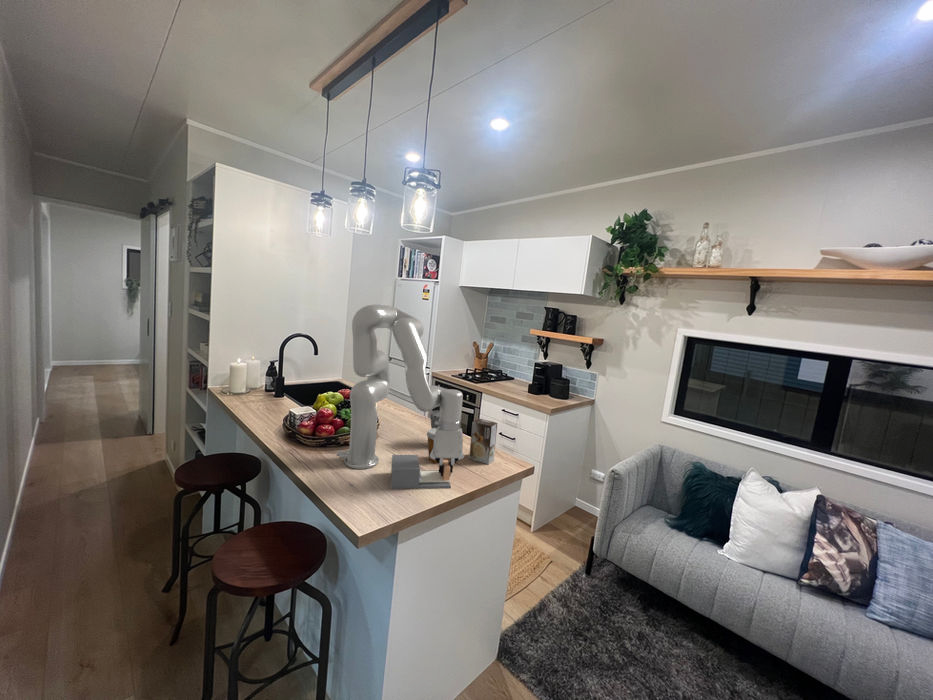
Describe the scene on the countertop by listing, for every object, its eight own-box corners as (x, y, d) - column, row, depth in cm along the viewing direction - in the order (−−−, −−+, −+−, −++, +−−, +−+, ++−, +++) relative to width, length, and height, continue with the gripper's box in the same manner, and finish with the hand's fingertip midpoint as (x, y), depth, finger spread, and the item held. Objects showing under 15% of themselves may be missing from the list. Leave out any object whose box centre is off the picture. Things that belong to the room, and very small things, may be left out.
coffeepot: (441, 453, 157) (444, 412, 155) (421, 448, 160) (424, 407, 158) (455, 442, 171) (458, 404, 169) (436, 438, 175) (440, 400, 173)
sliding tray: (398, 482, 126) (399, 468, 125) (398, 472, 134) (399, 459, 133) (449, 482, 129) (450, 468, 129) (446, 472, 137) (447, 459, 137)
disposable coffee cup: (444, 467, 144) (447, 437, 143) (421, 462, 146) (423, 433, 144) (450, 457, 153) (453, 429, 152) (428, 454, 155) (431, 426, 154)
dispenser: (391, 488, 123) (392, 469, 123) (391, 472, 135) (392, 454, 134) (450, 488, 128) (452, 469, 127) (445, 472, 139) (447, 455, 139)
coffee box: (494, 459, 155) (498, 422, 153) (488, 464, 150) (492, 426, 148) (475, 454, 159) (478, 417, 158) (468, 458, 154) (471, 421, 152)
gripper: (428, 427, 126) (423, 479, 128) (473, 428, 129) (469, 479, 131) (426, 420, 133) (422, 470, 135) (469, 422, 136) (464, 469, 138)
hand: (445, 474), depth 133 cm, fingers closed on sliding tray, 2 cm apart
